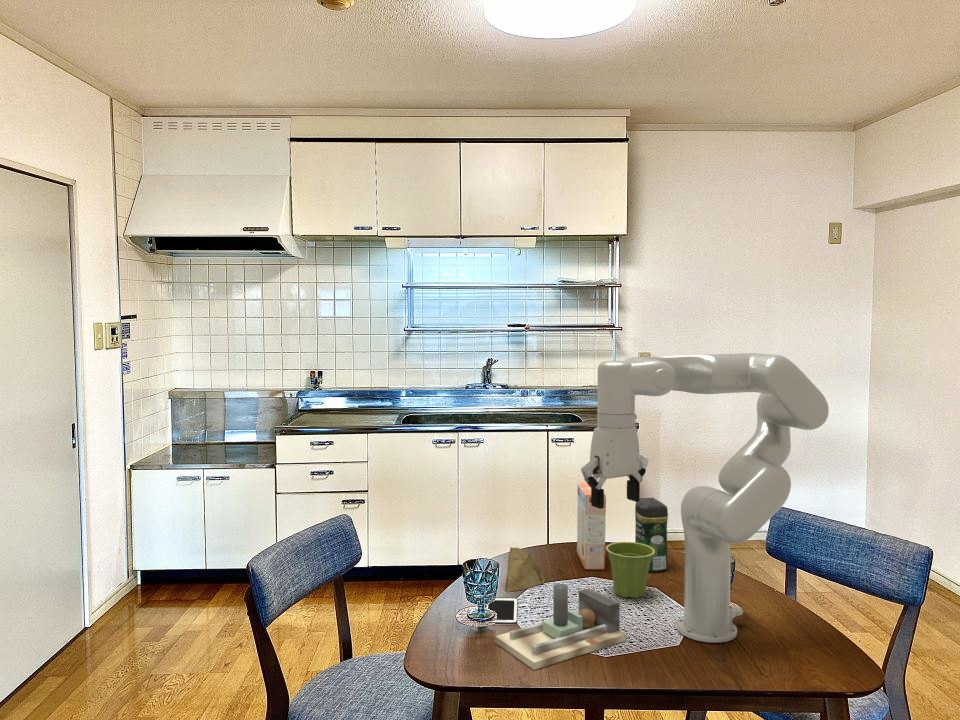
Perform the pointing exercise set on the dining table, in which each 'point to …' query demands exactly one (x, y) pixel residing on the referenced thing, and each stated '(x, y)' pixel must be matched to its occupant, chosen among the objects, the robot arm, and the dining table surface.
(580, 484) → the cracker box
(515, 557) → the rock
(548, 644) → the press frame
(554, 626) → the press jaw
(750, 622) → the dining table surface
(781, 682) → the dining table surface
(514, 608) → the cell phone
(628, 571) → the plant pot
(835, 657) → the dining table surface
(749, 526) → the robot arm
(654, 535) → the coffee jar
